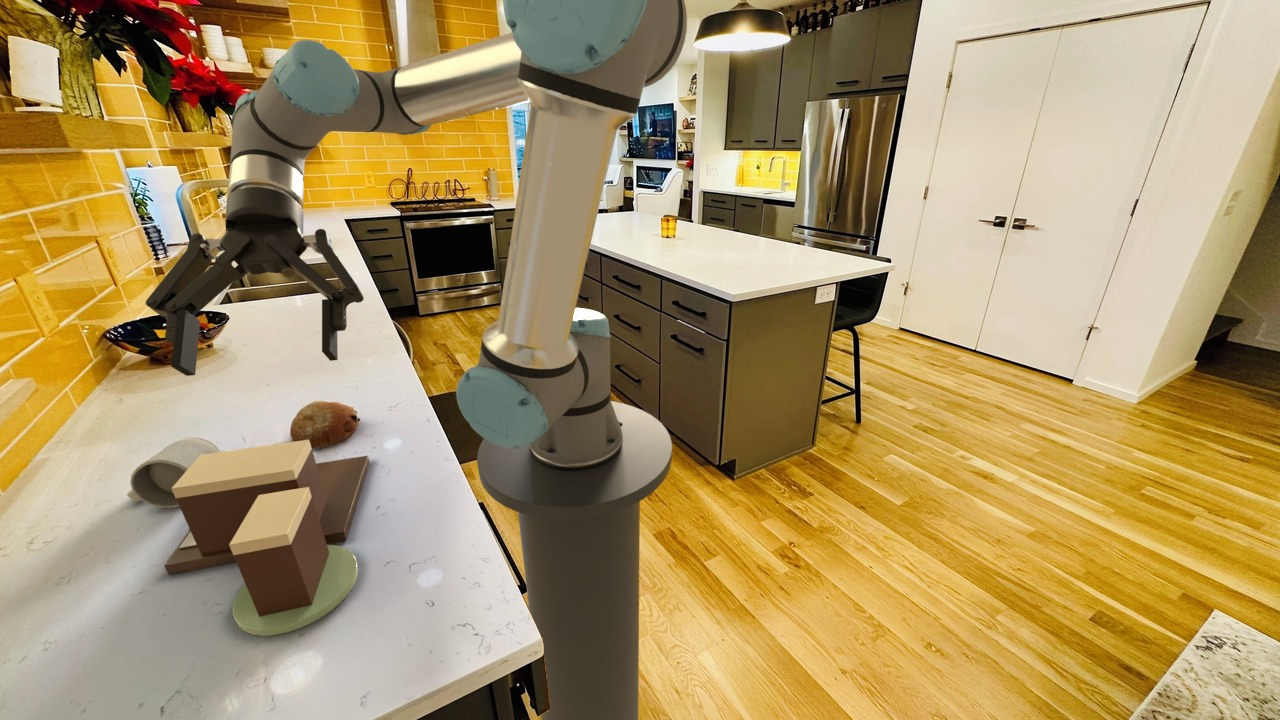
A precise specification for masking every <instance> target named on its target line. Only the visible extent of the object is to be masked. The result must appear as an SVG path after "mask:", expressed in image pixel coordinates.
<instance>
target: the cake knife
mask: <svg viewBox="0 0 1280 720" xmlns="http://www.w3.org/2000/svg"><path fill="white" fill-rule="evenodd" d="M191 547H197V544H196V542H195V540H194V538H193V535H192V533H191V532H190V533H189V534H188V536H187V537H186V539H185V540H184V541H183V543H182V544H181V546H180V547H179V549H186V548H191Z"/></svg>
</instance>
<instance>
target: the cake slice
mask: <svg viewBox="0 0 1280 720" xmlns="http://www.w3.org/2000/svg"><path fill="white" fill-rule="evenodd" d="M327 545H328V544H326V541H325V537H324V534H323V531H322V528H321V525H320V522H319V518H318V515H317V512H316V509H315V506H314V503H313V499H312V496H311V493H310V490H309V487H305V488H299V489H293V490H287V491H281V492H275V493H269V494H263V495H258V497H257V499H256V500H255V502H254V504H253V505H252V507H251V509H250V510H249V512H248V514H247V515H246V517H245V519H244V521H243V522H242V524H241V526H240V527H239V529H238V531H237V532H236V534H235V536H234V537H233V539H232V541H231V542H230V544H229V546H230V548H231V551H232V553H233V555H234V557H235V560H236V562H235V563H236V565H237V567H238V569H239V571H240V574H241V577H242V579H243V581H244V584H246V586H247V589H248V591H249V594H250V596H251V598H252V601H253V603H254V606H255V608H256V610H257V613H258V615H259V617H260V616H264V615H269V614H273V613H278V612H282V611H287V610H291V609H296V608H300V607H305V606H309V605H312V603H313V600H314V597H315V594H316V591H317V588H318V585H319V582H320V579H321V576H322V573H323V570H324V567H325V564H326V561H327V558H328V555H329V550H328V547H327Z"/></svg>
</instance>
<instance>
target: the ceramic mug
mask: <svg viewBox="0 0 1280 720" xmlns="http://www.w3.org/2000/svg"><path fill="white" fill-rule="evenodd" d="M218 452H221V451H220V449H219V448H218V447H217V445H215V444H214V443H213V442H212V441H209V440H207V439H204V438H201V437H185V438H182V439H178V440H176V441H174V442H172V443H170V444H169V445H167V446H166V447H164V448H163V449H162V450H161V451H160V450H159V452H157V453H156V454H154V455H153V456H152V457H150V458H149V459H147V460H146V461H144V462H142V463H141V464H139V466H137V467H136V468H135V469H134V471H132V473H131V476H130V482H129V483H130V487H131V489H130V490H129V491H128V492H127V493H126V496H127V497H128V498H129V499H130V500H131V501H132V502H134V503H139V502H141V501H142V502H145V503H146V504H148V505H150V506H153V507H157V508H161V509H172V508H173V509H174V508H180V507H179V504H178V502H177V500H176V498H175V496H174V493H173V491H172V489H171V488H172V487H173V486H174V485H175V484H176V483H177V481H178V480H179V479H180V478H181V477H182V476H183V474H184V473H185V472H186V471H187V470H188V469H189V467H190V466H191V465H192V464H193V463H194V462H195V460H196V459H197V458H198V457H199V456H200V455H203V454H211V453H218Z"/></svg>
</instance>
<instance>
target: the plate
mask: <svg viewBox="0 0 1280 720" xmlns="http://www.w3.org/2000/svg"><path fill="white" fill-rule="evenodd" d="M327 547H328V550H329V555H328V558H327V561H326V564H325V567H324V570H323V573H322V576H321V579H320V582H319V585H318V588H317V591H316V594H315V597H314V600H313V603H312V605H309V606H305V607H300V608H296V609H291V610H287V611H282V612H278V613H273V614H269V615H264V616H260V617H259V615H258V613H257V610H256V608H255V606H254V603H253V601H252V598H251V596H250V594H249V591H248V589H247V586H246V584H245V583H244V585H242V586H241V588H240V589H239V591H238V592H237V594H236V595H235V599H234V601H233V605H232V615H233V618H234V620H235V623H236V624H237V626H238V627H239V628H240V629H241V630H242V631H243V632H245V633H247V634H250V635H253V636H260V637H270V636H277V635H284V634H287V633H290V632H294V631H296V630H299V629H302V628H304V627H306V626H308V625H310V624H312V623H314V622H316V621H319V619H321V618H323V617H324V616H326V615H327V614H329V613H330V612H331V611H333V610H334V609H335V608H336V607H338V606H339V605H340V604H341V603H342V602H343V601H344V600H345V599H346V598H347V597H348V596H349V594H350V592H351V591H352V590H353V588H354V586H355V584H356V583H357V580H358V576H359V565H358V562H357V561H358V560H357V557H356V556H355V554H354V553H353V552H352V551H351V550H349V549H348V548H345V547H343V546H340V545H337V544H336V545H335V544H327Z"/></svg>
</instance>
